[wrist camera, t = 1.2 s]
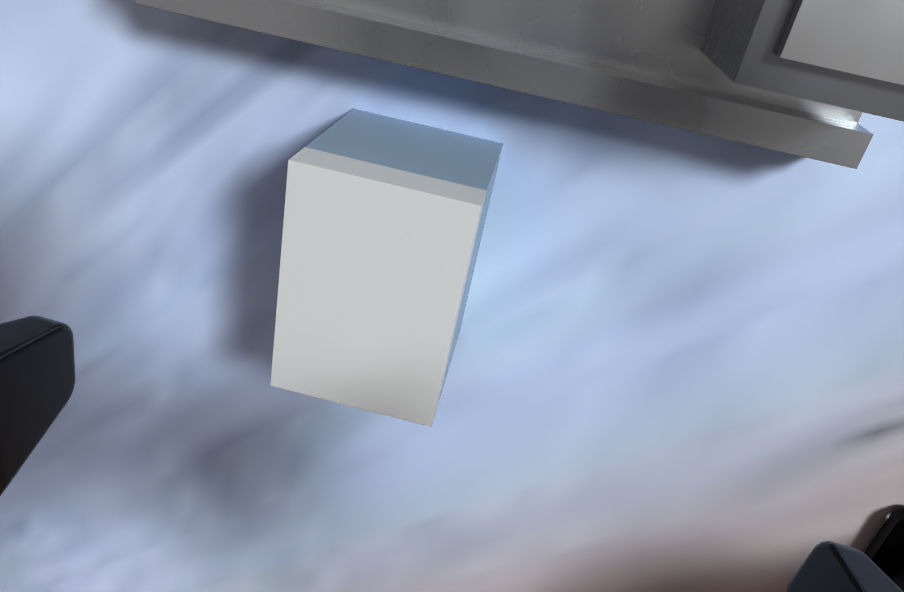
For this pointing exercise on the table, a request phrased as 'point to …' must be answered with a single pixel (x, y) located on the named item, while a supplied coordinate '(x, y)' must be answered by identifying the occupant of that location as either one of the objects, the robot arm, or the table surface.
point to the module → (379, 262)
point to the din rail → (634, 57)
